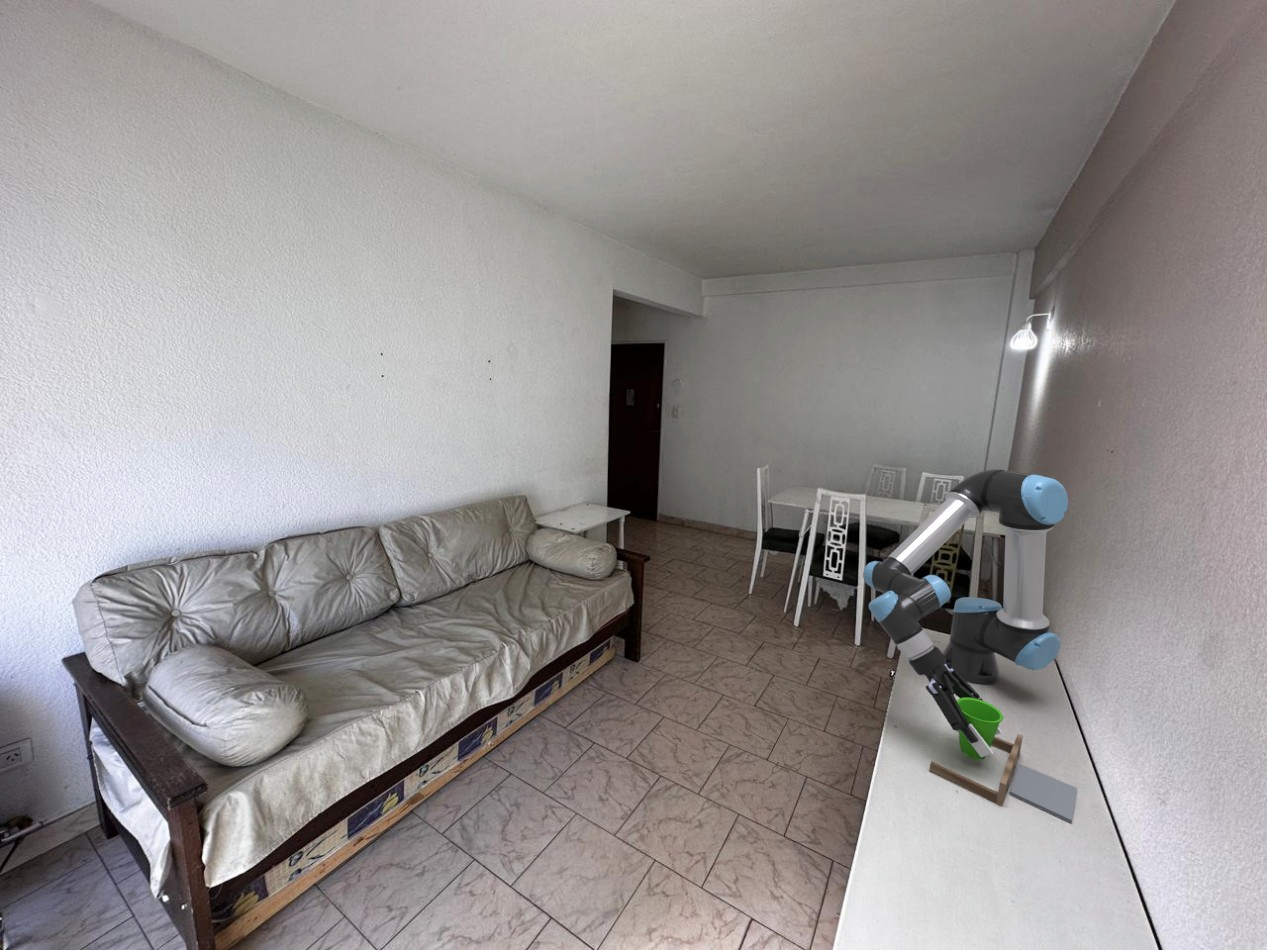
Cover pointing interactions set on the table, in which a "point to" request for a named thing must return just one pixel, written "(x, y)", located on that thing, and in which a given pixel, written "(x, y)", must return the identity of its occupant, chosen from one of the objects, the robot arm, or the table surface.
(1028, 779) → the mat
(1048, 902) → the table surface
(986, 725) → the cup
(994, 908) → the table surface
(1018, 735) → the stall
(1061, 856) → the table surface
